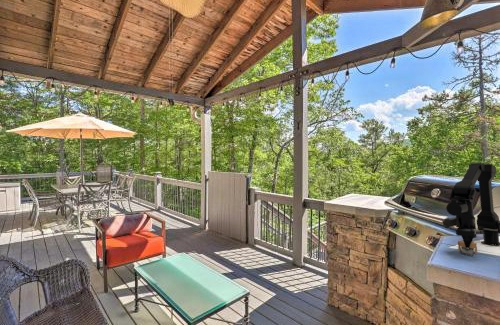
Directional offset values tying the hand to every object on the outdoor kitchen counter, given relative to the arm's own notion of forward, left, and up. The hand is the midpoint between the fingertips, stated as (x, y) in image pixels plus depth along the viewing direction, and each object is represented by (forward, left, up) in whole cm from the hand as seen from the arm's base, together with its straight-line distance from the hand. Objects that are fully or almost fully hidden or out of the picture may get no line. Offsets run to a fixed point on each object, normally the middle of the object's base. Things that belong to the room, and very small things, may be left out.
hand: (467, 247), depth 119 cm
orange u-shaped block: (-3, -1, -3) cm, 4 cm away
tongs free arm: (-8, -5, -3) cm, 10 cm away
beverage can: (-34, -11, -3) cm, 36 cm away
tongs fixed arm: (-7, -2, -3) cm, 8 cm away
